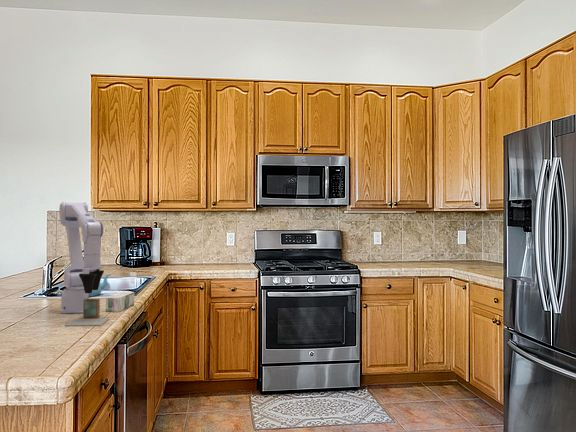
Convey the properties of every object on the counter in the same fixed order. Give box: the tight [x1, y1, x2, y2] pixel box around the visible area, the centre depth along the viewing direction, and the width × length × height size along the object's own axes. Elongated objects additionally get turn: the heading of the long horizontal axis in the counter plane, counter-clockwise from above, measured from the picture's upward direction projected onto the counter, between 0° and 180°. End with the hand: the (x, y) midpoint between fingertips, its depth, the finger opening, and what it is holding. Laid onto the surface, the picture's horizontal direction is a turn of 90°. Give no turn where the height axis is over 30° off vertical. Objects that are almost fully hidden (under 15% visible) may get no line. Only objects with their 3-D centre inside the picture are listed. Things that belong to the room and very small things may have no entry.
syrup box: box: [105, 291, 135, 313], centre depth 194 cm, size 6×6×14 cm
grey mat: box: [64, 318, 110, 327], centre depth 167 cm, size 12×10×1 cm
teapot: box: [89, 273, 111, 297], centre depth 226 cm, size 15×15×10 cm
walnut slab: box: [82, 298, 101, 319], centre depth 174 cm, size 5×2×7 cm, turn 96°
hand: (91, 291), depth 174 cm, fingers open, 7 cm apart
